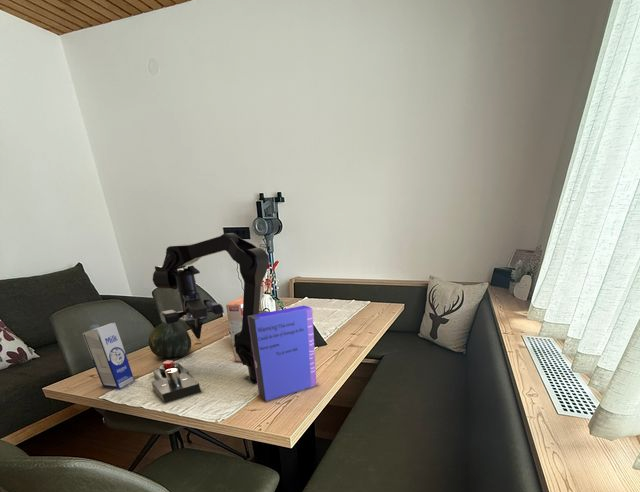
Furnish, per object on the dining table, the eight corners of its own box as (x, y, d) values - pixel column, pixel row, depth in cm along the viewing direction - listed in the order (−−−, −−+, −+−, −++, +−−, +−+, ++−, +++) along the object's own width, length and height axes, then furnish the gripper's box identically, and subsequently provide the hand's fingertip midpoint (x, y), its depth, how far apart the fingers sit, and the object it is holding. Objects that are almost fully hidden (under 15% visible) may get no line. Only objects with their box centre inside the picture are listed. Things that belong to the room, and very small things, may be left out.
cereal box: (308, 380, 115) (303, 304, 103) (316, 385, 112) (312, 307, 100) (259, 395, 107) (247, 315, 95) (266, 401, 104) (254, 318, 92)
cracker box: (249, 362, 131) (240, 304, 120) (234, 362, 132) (224, 304, 122) (263, 349, 143) (256, 295, 132) (248, 349, 144) (240, 295, 133)
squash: (142, 341, 140) (143, 316, 128) (180, 334, 149) (184, 310, 137) (157, 371, 138) (160, 348, 126) (194, 362, 146) (200, 340, 134)
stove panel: (201, 392, 111) (198, 383, 109) (164, 403, 105) (162, 393, 103) (187, 380, 119) (185, 371, 117) (153, 390, 113) (150, 381, 112)
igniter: (175, 367, 120) (174, 362, 119) (165, 369, 118) (164, 364, 118) (172, 364, 122) (171, 359, 121) (163, 366, 121) (161, 361, 120)
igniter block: (190, 377, 121) (187, 366, 119) (162, 385, 116) (159, 373, 114) (180, 369, 128) (177, 358, 126) (154, 376, 123) (151, 365, 121)
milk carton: (119, 389, 115) (96, 328, 104) (102, 387, 116) (79, 327, 106) (135, 380, 120) (115, 321, 110) (119, 379, 122) (98, 320, 112)
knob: (178, 379, 113) (175, 366, 110) (182, 382, 110) (178, 369, 108) (166, 382, 111) (163, 369, 109) (170, 386, 108) (166, 372, 106)
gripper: (164, 298, 101) (178, 351, 108) (226, 288, 110) (234, 337, 118) (153, 292, 108) (167, 342, 116) (212, 284, 118) (220, 330, 126)
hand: (198, 338), depth 119 cm, fingers closed
